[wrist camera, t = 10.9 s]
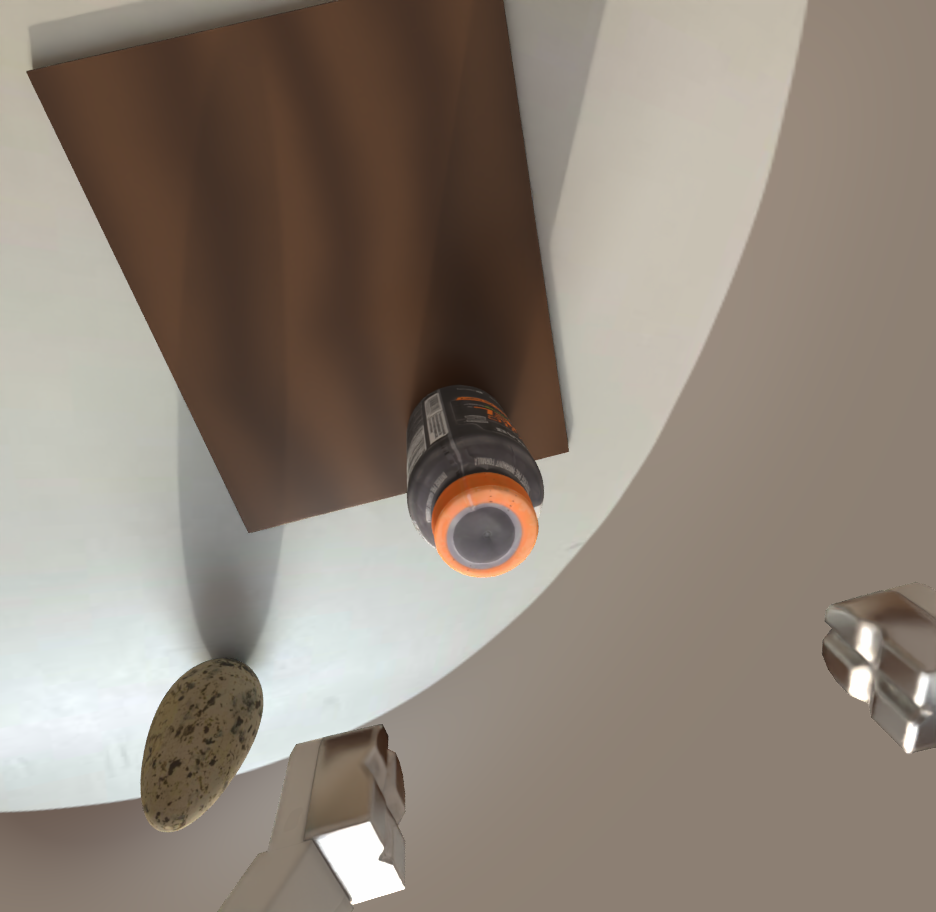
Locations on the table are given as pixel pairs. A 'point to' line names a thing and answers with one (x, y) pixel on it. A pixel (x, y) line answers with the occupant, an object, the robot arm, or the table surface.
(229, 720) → the decorative egg
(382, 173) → the walnut mat
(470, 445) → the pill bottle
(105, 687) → the table surface
